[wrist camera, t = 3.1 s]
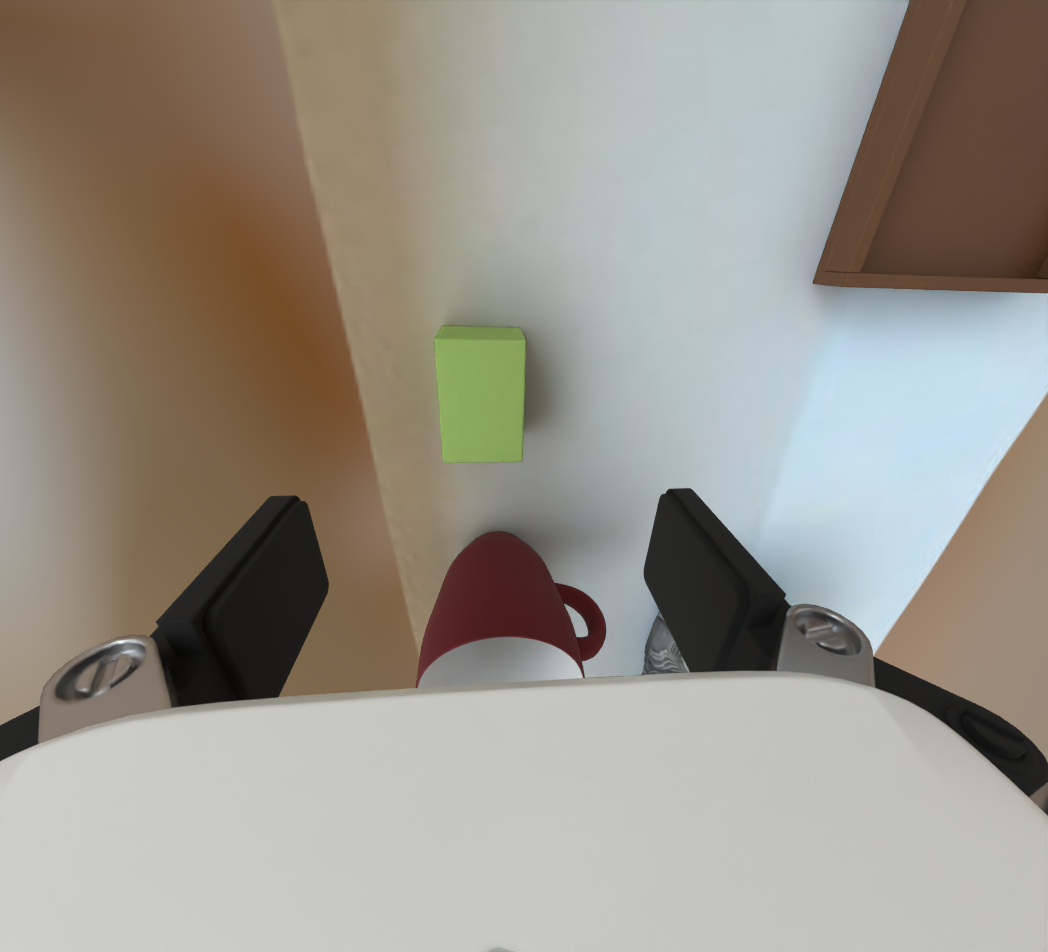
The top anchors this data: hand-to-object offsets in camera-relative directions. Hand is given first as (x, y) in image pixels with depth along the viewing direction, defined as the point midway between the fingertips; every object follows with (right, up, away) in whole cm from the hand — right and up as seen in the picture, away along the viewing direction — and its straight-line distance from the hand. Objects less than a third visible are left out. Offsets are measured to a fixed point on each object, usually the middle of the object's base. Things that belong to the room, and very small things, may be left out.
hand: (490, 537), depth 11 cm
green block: (-1, +7, +11) cm, 13 cm away
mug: (0, -4, +17) cm, 17 cm away
